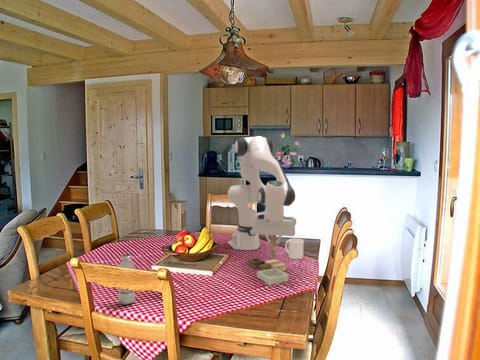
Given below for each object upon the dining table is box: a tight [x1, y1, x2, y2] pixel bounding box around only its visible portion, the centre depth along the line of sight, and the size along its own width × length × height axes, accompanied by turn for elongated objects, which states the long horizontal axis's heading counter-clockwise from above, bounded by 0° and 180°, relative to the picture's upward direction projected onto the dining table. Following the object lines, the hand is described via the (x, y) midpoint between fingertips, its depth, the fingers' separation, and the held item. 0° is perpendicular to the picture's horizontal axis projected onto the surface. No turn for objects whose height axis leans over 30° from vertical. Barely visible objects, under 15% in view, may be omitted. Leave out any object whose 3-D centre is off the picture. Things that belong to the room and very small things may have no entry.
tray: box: [256, 268, 290, 286], centre depth 184 cm, size 11×11×3 cm
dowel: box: [270, 235, 277, 258], centre depth 182 cm, size 2×2×10 cm
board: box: [263, 258, 287, 273], centre depth 197 cm, size 10×7×4 cm
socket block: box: [247, 257, 265, 270], centre depth 200 cm, size 6×6×4 cm
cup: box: [284, 238, 305, 261], centre depth 219 cm, size 8×12×10 cm
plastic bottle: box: [117, 253, 136, 306], centre depth 154 cm, size 6×7×20 cm
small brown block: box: [259, 264, 271, 271], centre depth 195 cm, size 4×4×3 cm
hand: (273, 243), depth 182 cm, fingers closed on dowel, 2 cm apart
